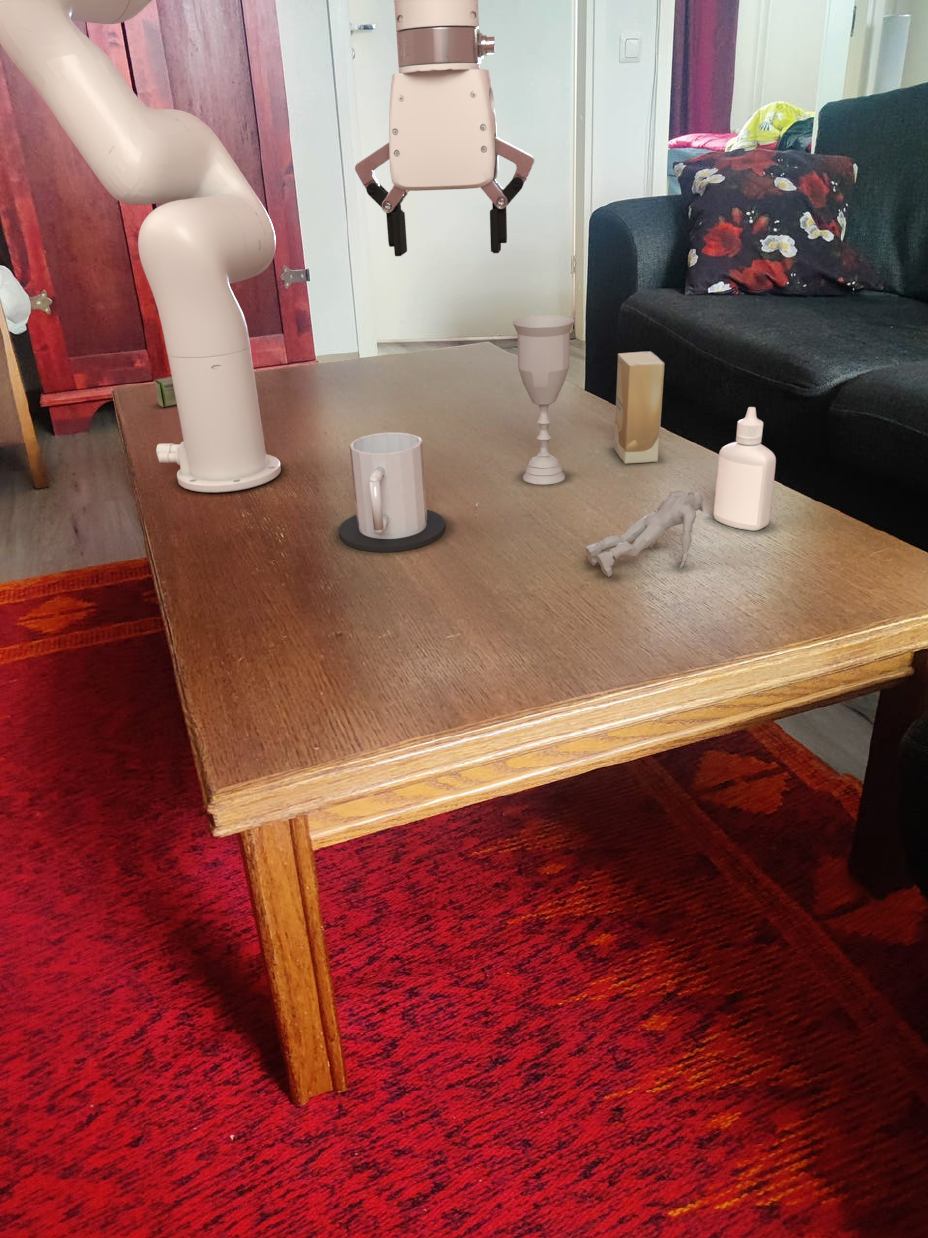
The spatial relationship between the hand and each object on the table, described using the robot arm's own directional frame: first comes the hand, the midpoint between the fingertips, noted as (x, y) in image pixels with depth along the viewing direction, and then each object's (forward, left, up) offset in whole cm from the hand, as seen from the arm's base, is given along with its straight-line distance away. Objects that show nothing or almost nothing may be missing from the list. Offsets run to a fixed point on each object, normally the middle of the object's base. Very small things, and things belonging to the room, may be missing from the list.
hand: (448, 252), depth 95 cm
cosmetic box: (+20, +16, -26) cm, 37 cm away
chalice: (+9, +8, -26) cm, 29 cm away
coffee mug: (-6, -11, -26) cm, 28 cm away
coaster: (-6, -9, -26) cm, 28 cm away
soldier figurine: (+20, -16, -26) cm, 37 cm away
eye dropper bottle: (+30, -6, -26) cm, 40 cm away
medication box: (-49, +45, -26) cm, 72 cm away
